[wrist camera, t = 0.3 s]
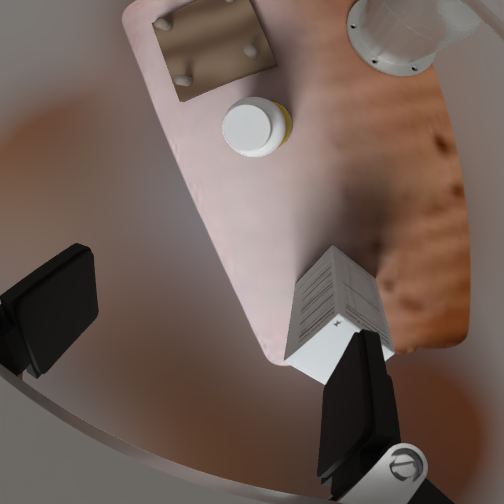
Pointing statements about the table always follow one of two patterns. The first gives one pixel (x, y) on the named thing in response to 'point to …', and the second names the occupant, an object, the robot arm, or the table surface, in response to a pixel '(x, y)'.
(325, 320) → the supplement box
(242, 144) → the supplement bottle
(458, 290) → the table surface
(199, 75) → the board
